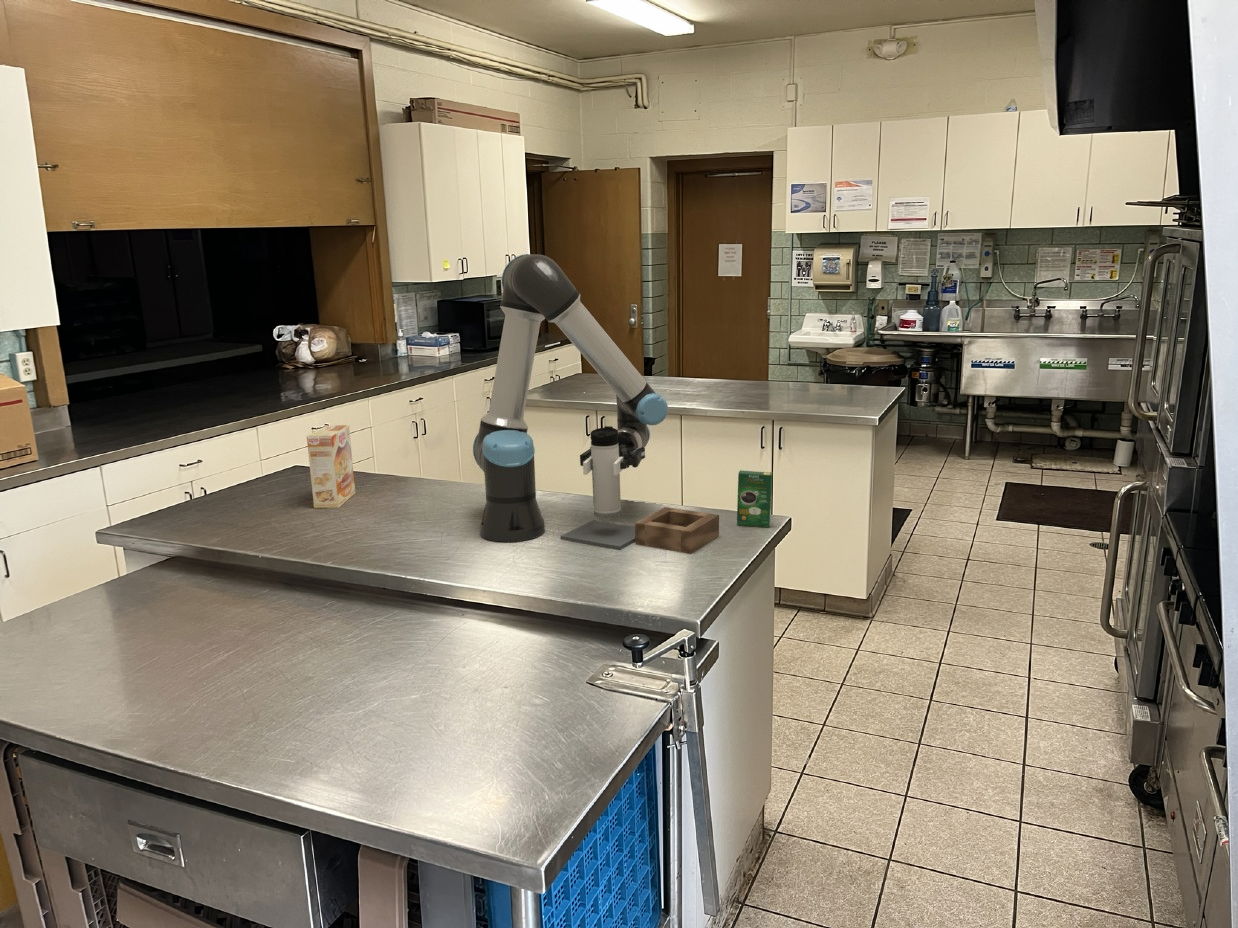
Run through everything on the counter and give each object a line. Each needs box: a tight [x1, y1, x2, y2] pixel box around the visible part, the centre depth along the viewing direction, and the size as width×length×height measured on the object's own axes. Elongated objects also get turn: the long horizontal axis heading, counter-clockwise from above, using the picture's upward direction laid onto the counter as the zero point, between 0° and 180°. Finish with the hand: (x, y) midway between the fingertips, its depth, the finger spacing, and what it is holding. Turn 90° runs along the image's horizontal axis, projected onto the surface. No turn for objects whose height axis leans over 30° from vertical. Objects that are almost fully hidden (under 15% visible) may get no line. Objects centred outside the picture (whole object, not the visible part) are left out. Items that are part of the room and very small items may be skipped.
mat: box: [559, 519, 635, 551], centre depth 204 cm, size 16×14×1 cm
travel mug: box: [590, 425, 622, 519], centre depth 200 cm, size 6×7×20 cm
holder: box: [634, 506, 720, 555], centre depth 199 cm, size 14×14×5 cm
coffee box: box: [736, 469, 773, 528], centre depth 207 cm, size 8×3×13 cm, turn 74°
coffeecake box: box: [306, 424, 356, 509], centre depth 237 cm, size 15×7×20 cm, turn 179°
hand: (599, 469), depth 195 cm, fingers closed on travel mug, 6 cm apart
